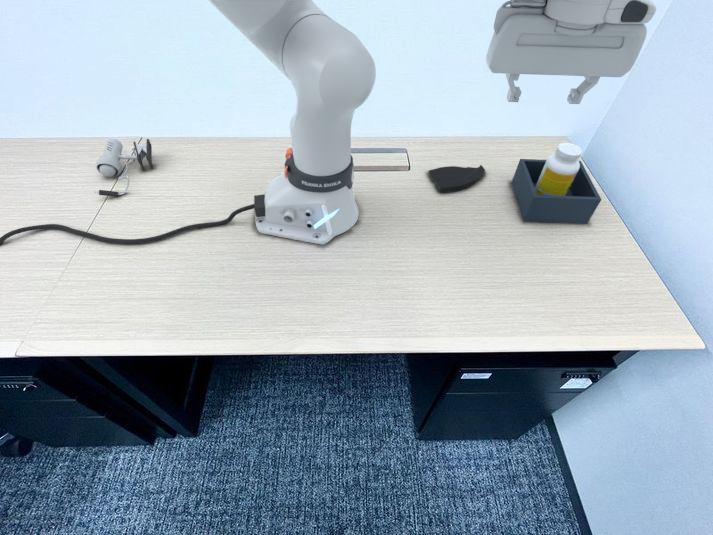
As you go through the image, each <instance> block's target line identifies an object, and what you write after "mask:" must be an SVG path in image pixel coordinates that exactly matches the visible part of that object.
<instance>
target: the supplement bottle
mask: <svg viewBox="0 0 713 535" xmlns="http://www.w3.org/2000/svg"><path fill="white" fill-rule="evenodd" d="M582 154H583V150H582V148H581V147H580V146H579V145H577V144H575V143H571V142H561V143H559V144H558V145H557V147H556V149H555V152H554V153H552V154H550V155H549V156H548V157H547V158H546V159H545V160H546V163H545V165H544V167H543V170H542V172H541V174H540V177H539V179H538V181H537V184H536V186H535V191H536V193H537V195H553V196H566V194H567V192H568V190H569V188H570V186H571V184H572V182H573V180H574V178H575V176H576V174H577V172H578V170H579V168H580V163H579V161H580V160H578V159H580V157H581V155H582Z"/></svg>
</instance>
